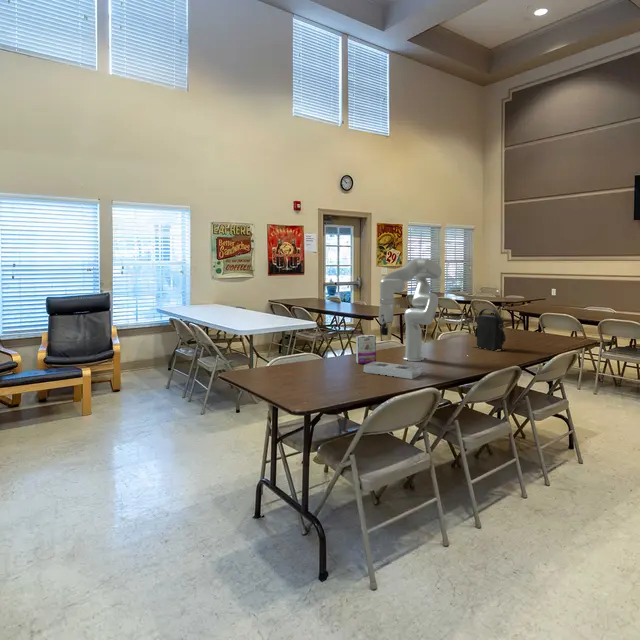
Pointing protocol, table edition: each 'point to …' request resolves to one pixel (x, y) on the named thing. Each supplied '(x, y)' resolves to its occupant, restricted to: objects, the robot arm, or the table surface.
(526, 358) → the table surface
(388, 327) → the peg
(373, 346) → the candy bar box
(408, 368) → the white holder tray
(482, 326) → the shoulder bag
